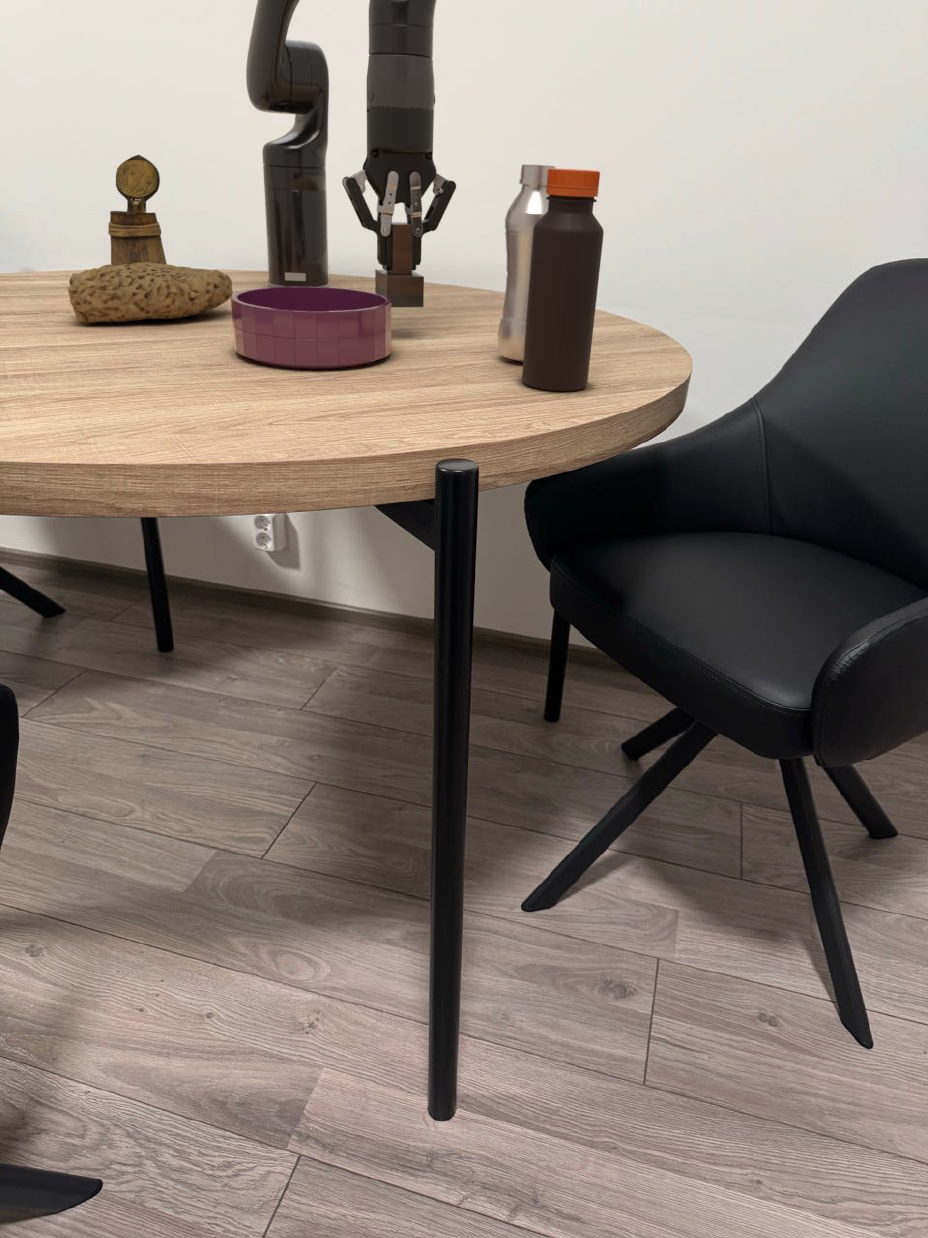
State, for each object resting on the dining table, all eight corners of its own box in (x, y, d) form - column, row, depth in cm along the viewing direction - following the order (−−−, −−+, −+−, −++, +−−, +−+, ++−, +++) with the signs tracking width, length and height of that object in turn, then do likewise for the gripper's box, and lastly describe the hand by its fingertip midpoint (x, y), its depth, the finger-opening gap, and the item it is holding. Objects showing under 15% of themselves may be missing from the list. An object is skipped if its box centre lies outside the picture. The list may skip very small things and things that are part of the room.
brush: (375, 299, 113) (375, 220, 109) (410, 299, 114) (411, 221, 110) (387, 307, 108) (387, 225, 104) (423, 307, 109) (425, 225, 105)
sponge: (83, 341, 108) (247, 302, 113) (58, 272, 105) (227, 235, 110) (87, 340, 120) (235, 304, 125) (65, 278, 117) (217, 244, 122)
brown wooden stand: (183, 288, 138) (171, 155, 130) (170, 302, 127) (156, 158, 118) (122, 286, 137) (106, 152, 129) (104, 301, 125) (84, 154, 117)
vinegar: (532, 373, 98) (549, 167, 89) (594, 381, 96) (617, 171, 87) (513, 386, 93) (528, 167, 83) (577, 395, 91) (600, 172, 81)
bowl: (228, 339, 107) (224, 285, 104) (371, 337, 112) (371, 285, 109) (244, 373, 92) (240, 312, 89) (408, 369, 97) (409, 310, 95)
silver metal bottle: (557, 357, 106) (574, 166, 97) (546, 369, 100) (563, 167, 91) (503, 352, 107) (515, 163, 98) (489, 363, 102) (500, 163, 92)
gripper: (449, 108, 107) (444, 265, 115) (332, 101, 102) (335, 265, 110) (470, 107, 100) (463, 273, 108) (345, 99, 96) (348, 273, 104)
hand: (398, 268), depth 109 cm, fingers closed on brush, 2 cm apart
